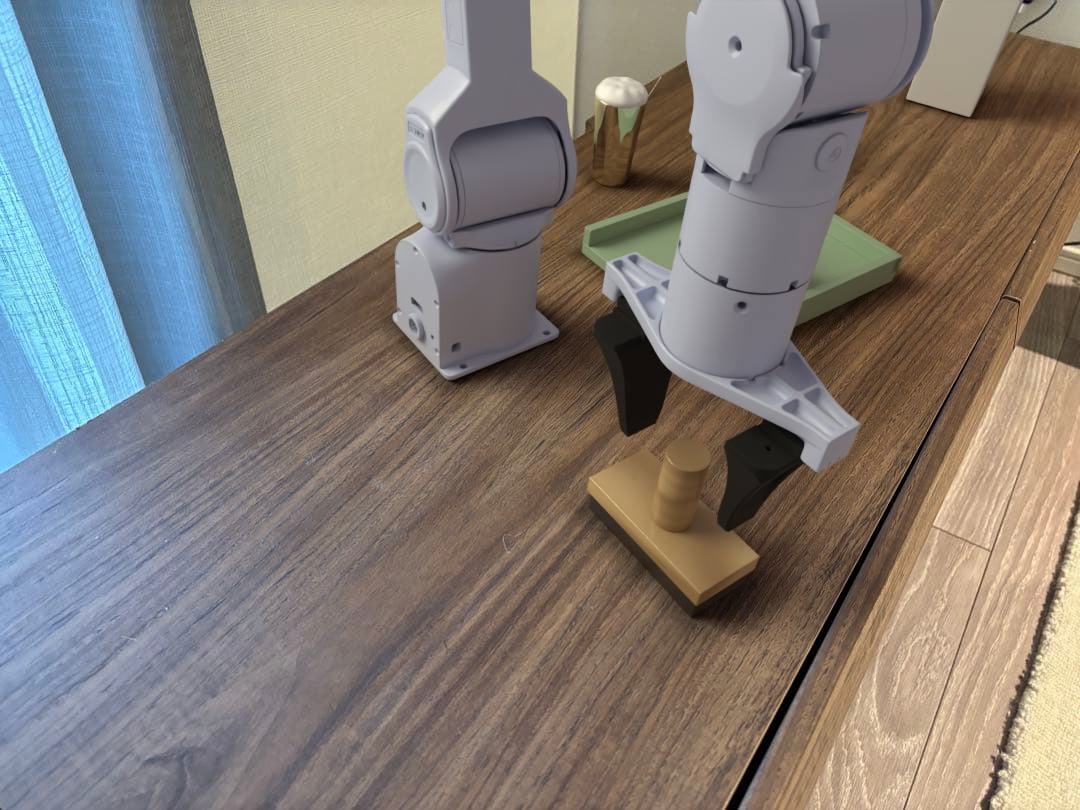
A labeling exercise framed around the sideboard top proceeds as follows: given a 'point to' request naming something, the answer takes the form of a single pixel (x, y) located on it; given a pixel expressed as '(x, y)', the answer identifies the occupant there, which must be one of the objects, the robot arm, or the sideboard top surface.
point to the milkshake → (617, 128)
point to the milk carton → (962, 53)
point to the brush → (672, 523)
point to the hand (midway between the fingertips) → (684, 471)
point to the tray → (837, 278)
